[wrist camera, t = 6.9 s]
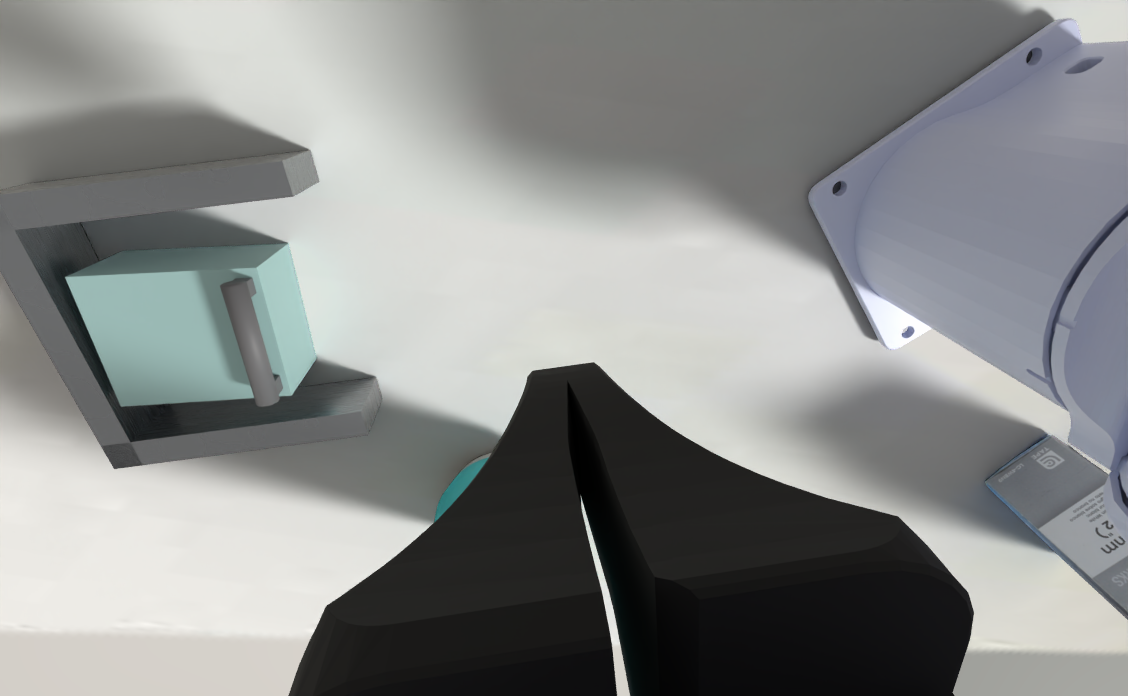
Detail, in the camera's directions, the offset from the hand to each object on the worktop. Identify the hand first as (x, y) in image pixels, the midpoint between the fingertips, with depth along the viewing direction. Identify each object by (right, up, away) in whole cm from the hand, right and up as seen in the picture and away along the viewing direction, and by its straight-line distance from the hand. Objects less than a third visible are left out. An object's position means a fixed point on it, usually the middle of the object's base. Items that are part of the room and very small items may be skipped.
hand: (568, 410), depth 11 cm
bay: (-12, +3, +9) cm, 15 cm away
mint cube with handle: (-12, +3, +9) cm, 16 cm away
